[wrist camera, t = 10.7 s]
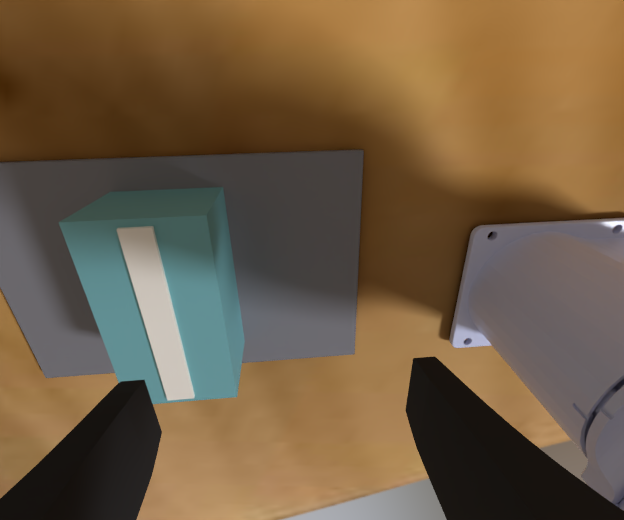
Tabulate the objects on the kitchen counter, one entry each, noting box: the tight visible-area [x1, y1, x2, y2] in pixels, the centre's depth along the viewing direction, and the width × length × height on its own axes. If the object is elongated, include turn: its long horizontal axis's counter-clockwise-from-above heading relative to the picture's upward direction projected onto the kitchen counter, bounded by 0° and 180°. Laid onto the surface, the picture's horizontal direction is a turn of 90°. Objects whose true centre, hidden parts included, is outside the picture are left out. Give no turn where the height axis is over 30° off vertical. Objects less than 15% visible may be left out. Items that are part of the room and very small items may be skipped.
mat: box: [0, 149, 364, 378], centre depth 18 cm, size 18×12×1 cm, turn 91°
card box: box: [59, 187, 245, 404], centre depth 16 cm, size 9×5×4 cm, turn 1°
